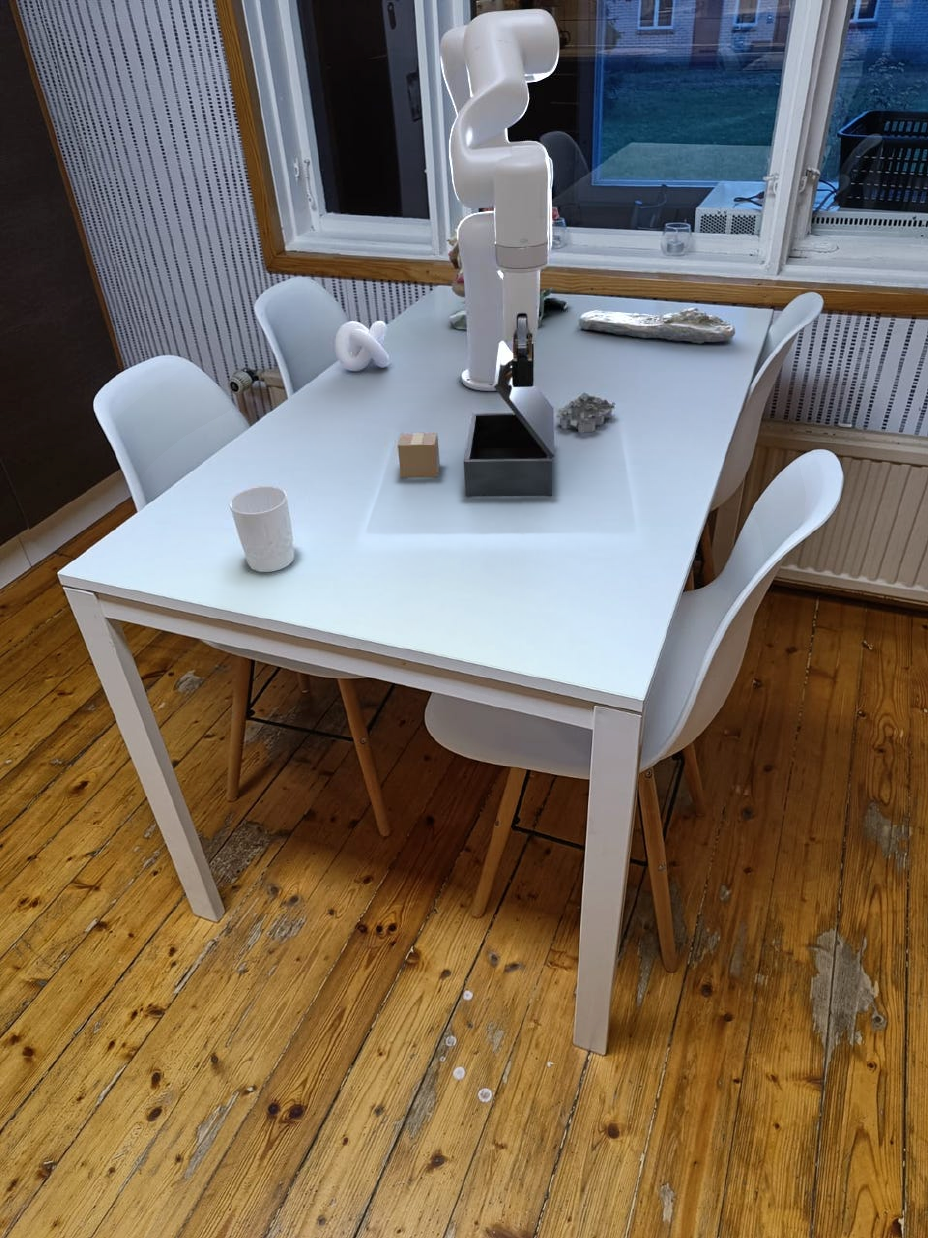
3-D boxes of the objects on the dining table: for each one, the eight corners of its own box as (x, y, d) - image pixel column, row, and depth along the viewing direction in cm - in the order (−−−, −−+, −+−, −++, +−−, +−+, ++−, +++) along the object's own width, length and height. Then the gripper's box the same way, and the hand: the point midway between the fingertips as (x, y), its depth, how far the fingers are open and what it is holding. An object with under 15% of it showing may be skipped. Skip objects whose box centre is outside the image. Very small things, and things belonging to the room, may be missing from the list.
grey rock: (587, 439, 151) (588, 418, 149) (552, 430, 155) (552, 408, 153) (618, 417, 158) (619, 396, 155) (583, 409, 162) (584, 388, 159)
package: (401, 481, 142) (397, 444, 138) (404, 468, 146) (401, 432, 142) (437, 481, 142) (434, 444, 138) (439, 468, 145) (437, 432, 141)
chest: (465, 500, 136) (463, 461, 132) (473, 449, 150) (471, 413, 146) (551, 500, 135) (552, 460, 131) (551, 448, 149) (551, 412, 145)
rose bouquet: (465, 296, 221) (458, 166, 203) (574, 304, 212) (577, 168, 194) (423, 328, 203) (412, 189, 185) (541, 339, 193) (541, 193, 175)
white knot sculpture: (359, 352, 192) (354, 312, 187) (406, 358, 188) (402, 317, 182) (332, 370, 184) (325, 328, 179) (380, 377, 180) (375, 334, 174)
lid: (493, 386, 124) (521, 366, 122) (498, 343, 139) (523, 324, 136) (550, 459, 131) (577, 441, 128) (549, 410, 145) (574, 394, 143)
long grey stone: (587, 324, 203) (573, 340, 196) (587, 301, 200) (572, 317, 193) (739, 331, 189) (729, 348, 182) (741, 307, 185) (730, 324, 179)
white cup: (247, 547, 128) (233, 488, 122) (300, 543, 128) (288, 483, 122) (241, 577, 122) (225, 516, 116) (296, 572, 122) (284, 511, 116)
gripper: (497, 240, 129) (500, 358, 140) (493, 272, 115) (496, 400, 126) (547, 238, 128) (547, 356, 139) (549, 270, 114) (548, 399, 125)
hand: (523, 376), depth 132 cm, fingers closed on lid, 6 cm apart
